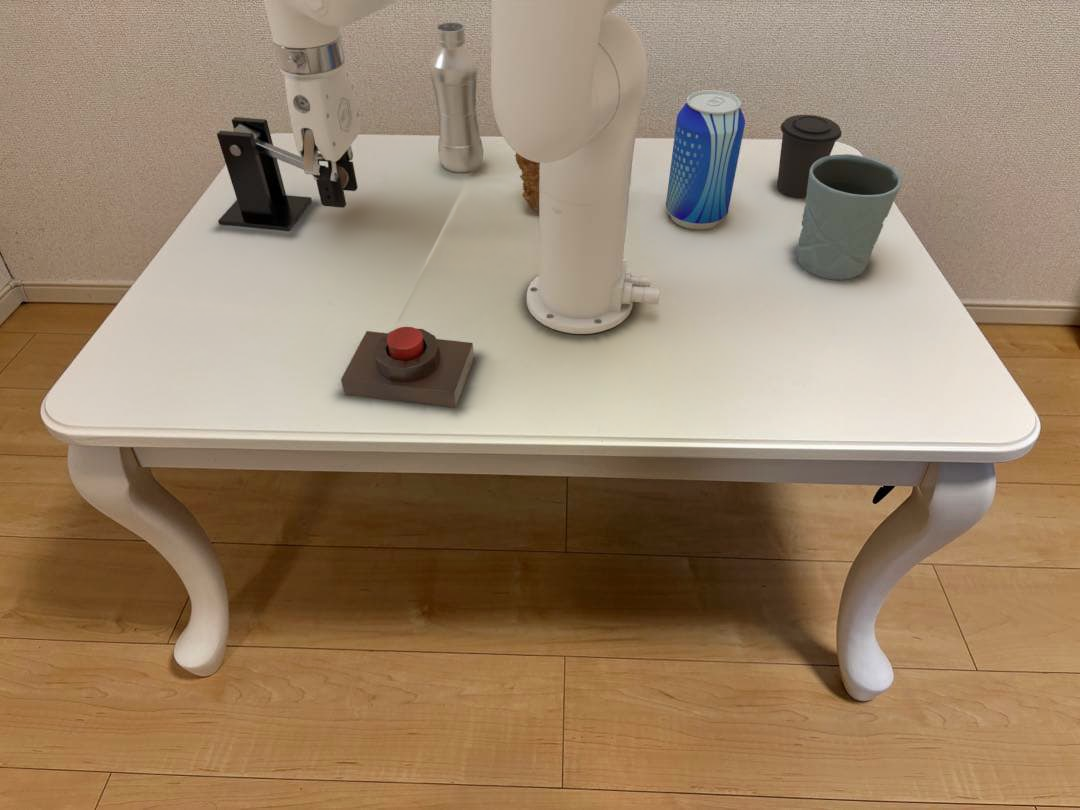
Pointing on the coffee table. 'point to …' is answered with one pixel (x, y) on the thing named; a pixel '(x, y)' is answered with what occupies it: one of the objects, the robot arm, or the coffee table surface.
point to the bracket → (257, 182)
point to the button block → (409, 371)
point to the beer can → (704, 158)
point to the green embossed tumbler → (844, 214)
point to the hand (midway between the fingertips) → (339, 196)
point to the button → (405, 343)
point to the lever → (286, 153)
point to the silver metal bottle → (456, 100)
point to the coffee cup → (803, 150)
